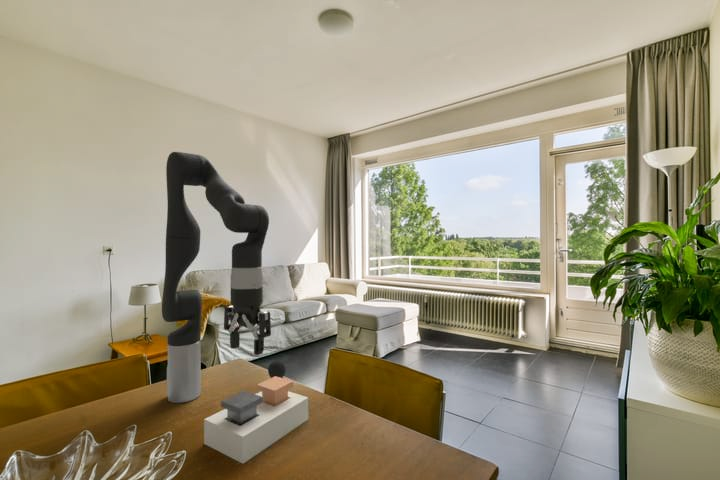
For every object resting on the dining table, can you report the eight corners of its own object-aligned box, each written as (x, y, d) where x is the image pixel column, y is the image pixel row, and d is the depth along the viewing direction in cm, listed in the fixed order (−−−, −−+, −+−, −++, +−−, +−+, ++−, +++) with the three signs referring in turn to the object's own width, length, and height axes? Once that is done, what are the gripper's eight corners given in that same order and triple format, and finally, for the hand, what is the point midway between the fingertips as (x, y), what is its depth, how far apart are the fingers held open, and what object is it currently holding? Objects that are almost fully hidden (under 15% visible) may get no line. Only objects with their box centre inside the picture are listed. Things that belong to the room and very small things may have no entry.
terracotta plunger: (256, 408, 93) (256, 384, 93) (275, 398, 99) (275, 376, 99) (275, 415, 89) (274, 390, 89) (293, 404, 95) (293, 381, 95)
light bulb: (281, 396, 109) (281, 364, 109) (264, 394, 110) (264, 363, 110) (288, 388, 114) (288, 358, 114) (272, 387, 116) (272, 357, 115)
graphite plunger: (221, 427, 83) (221, 401, 83) (244, 415, 89) (244, 390, 89) (239, 436, 80) (239, 408, 80) (262, 422, 86) (262, 397, 86)
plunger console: (204, 443, 84) (204, 419, 84) (271, 406, 102) (271, 386, 102) (243, 463, 76) (242, 436, 76) (308, 419, 95) (308, 397, 95)
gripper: (215, 284, 86) (214, 349, 86) (254, 289, 78) (254, 361, 78) (239, 281, 92) (239, 342, 92) (278, 285, 85) (278, 351, 85)
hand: (246, 350), depth 85 cm, fingers open, 8 cm apart
